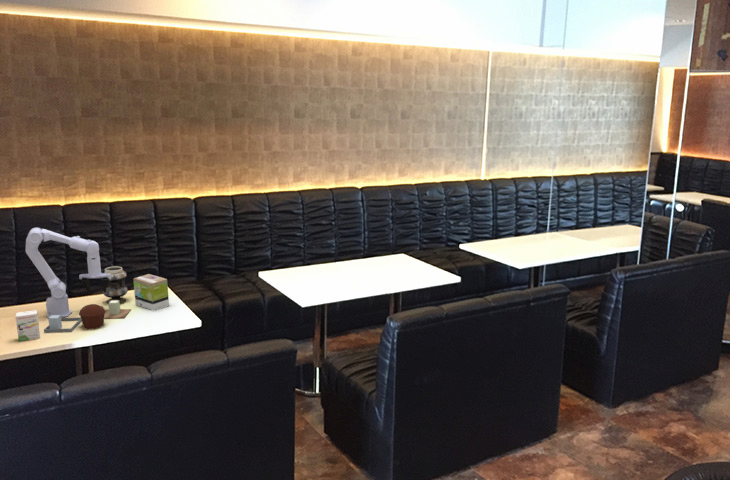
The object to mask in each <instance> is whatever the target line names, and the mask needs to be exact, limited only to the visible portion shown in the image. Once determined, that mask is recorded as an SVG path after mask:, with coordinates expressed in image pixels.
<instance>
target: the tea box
mask: <svg viewBox="0 0 730 480" xmlns="http://www.w3.org/2000/svg"><path fill="white" fill-rule="evenodd" d="M132 282H133V290H134V291H133V293H134V301H135V302H134V305H135V306H137V307H138V306H139V307H142V308H144V309H147V310H149V311H152V310H153V312H155V311H157V309H158V310H160V308H161V309H164V308H166V306H167V307H168V306H170V300H169V299H170V298H169V286H168V279H167V278H164V277H162V276H157V275H153V274H150V273H147V274H144V275H140V276H138V277H134V278H133V281H132ZM163 307H164V308H163ZM154 310H155V311H154Z"/></svg>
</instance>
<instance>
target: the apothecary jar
mask: <svg viewBox="0 0 730 480" xmlns="http://www.w3.org/2000/svg"><path fill="white" fill-rule="evenodd" d="M103 273H107V274H111V278H109V281H108V284H107V288H106V292H105V293H103V292H102V294H103V296H105V297H106V298H109V299H108V300H106V302H105V304H107V305H109V302H110V301H114V300H119V302H120V304H121V305H122V304H124V303H126V302H127V299H126V298H125V297H124V298H123V296H126V294H127V293H128V291H129V289H128V287H127V286H126V284H125V283H126V282H125V279H126V277H127V272H126V271H124V269H123V267H122V266H117V265H114V266H109V267H106V268H104V272H103ZM102 279H103V278H101V280H102Z"/></svg>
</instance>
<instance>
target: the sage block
mask: <svg viewBox="0 0 730 480" xmlns="http://www.w3.org/2000/svg"><path fill="white" fill-rule="evenodd" d="M120 309H121V305H120V302H119V300H114V301H110V302H109V304H108V310H109V314H110V315H118V314H119V313H120Z"/></svg>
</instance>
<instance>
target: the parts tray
mask: <svg viewBox="0 0 730 480" xmlns="http://www.w3.org/2000/svg"><path fill="white" fill-rule="evenodd" d="M61 322H75V323H74V325H73V326H71V327H69V328H61V329H50V328H49V324H48V325H47V326H46V327H45V328H44V329H43V333H44V334H45V333H46V334H47V333H48V334H49V333H50V334H51V333H53V334H54V333H72V332H74V330H75V329H76V328H77V327H78V326H79V325H80V324H81V323H82V320H81V317H80V316H79V317H61Z"/></svg>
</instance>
